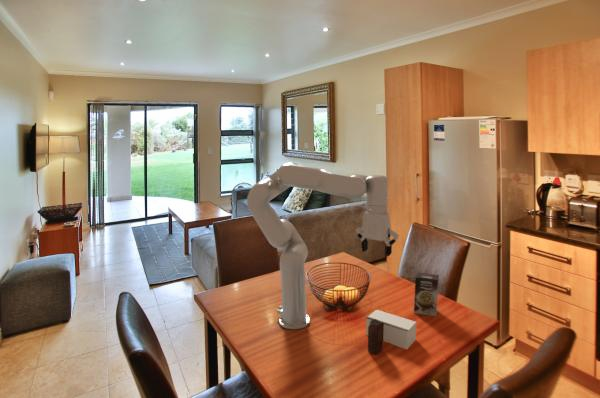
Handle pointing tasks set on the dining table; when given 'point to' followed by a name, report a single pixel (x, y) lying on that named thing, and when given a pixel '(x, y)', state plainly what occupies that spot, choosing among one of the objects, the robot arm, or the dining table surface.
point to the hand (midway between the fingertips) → (376, 253)
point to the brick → (375, 336)
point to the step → (395, 328)
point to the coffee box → (426, 294)
